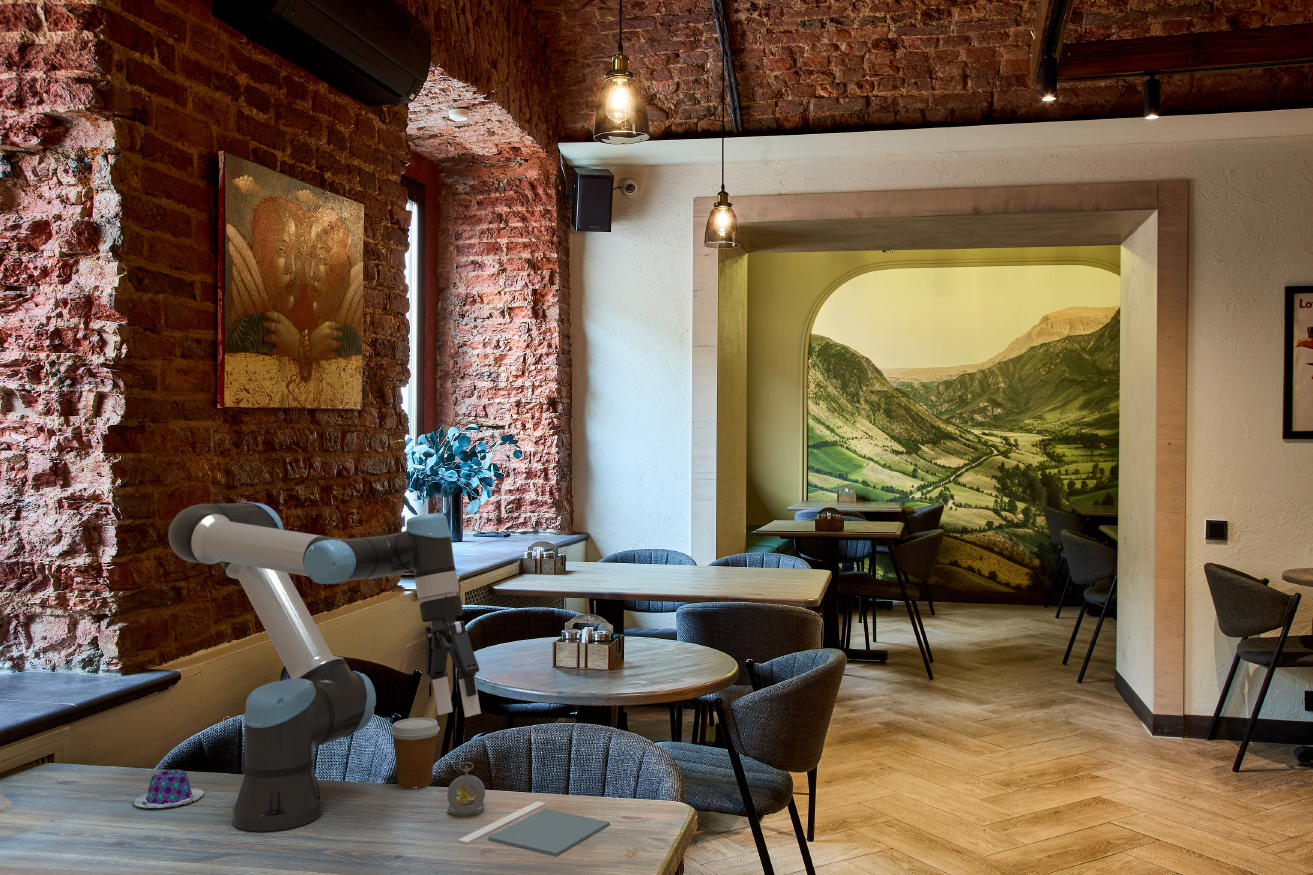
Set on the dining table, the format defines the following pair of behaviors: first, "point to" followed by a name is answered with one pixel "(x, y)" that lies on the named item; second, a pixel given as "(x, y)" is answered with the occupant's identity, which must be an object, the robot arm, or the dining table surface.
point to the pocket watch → (466, 794)
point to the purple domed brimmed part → (169, 787)
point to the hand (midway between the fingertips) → (458, 714)
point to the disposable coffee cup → (415, 751)
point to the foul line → (500, 823)
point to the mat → (549, 831)
